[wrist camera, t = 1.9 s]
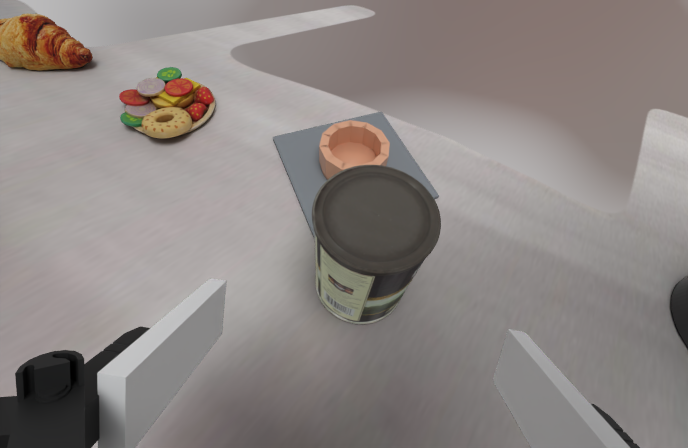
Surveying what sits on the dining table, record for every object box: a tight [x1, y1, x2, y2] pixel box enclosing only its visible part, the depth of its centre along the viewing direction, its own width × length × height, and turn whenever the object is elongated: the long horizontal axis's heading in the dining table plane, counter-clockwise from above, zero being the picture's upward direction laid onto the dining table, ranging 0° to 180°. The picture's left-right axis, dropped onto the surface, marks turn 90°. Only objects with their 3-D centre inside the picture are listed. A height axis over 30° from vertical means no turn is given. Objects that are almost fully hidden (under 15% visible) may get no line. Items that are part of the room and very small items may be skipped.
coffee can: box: [312, 165, 441, 324], centre depth 32 cm, size 10×10×14 cm
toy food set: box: [119, 67, 215, 138], centre depth 49 cm, size 13×13×3 cm
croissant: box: [0, 14, 93, 71], centre depth 53 cm, size 21×10×8 cm, turn 76°
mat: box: [273, 112, 439, 237], centre depth 47 cm, size 18×18×1 cm
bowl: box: [319, 120, 390, 180], centre depth 45 cm, size 9×9×4 cm
